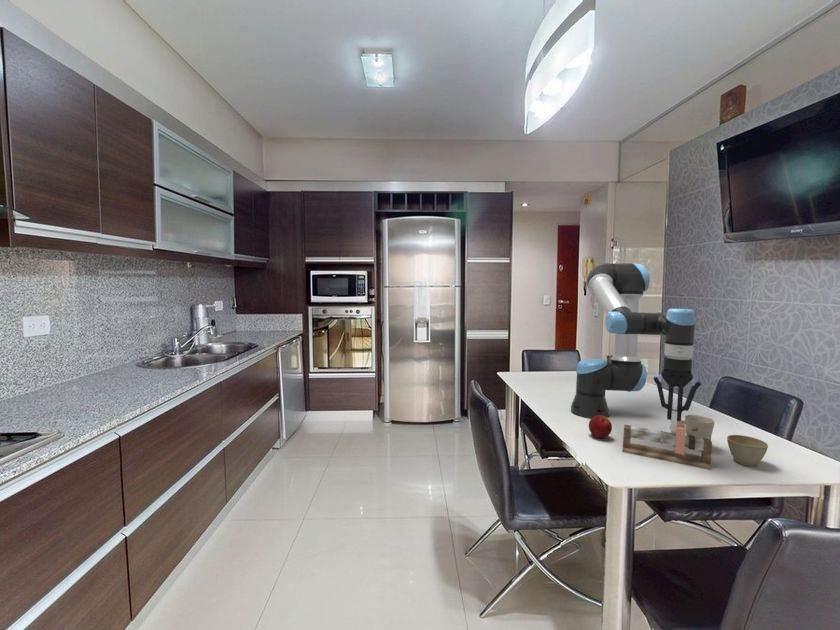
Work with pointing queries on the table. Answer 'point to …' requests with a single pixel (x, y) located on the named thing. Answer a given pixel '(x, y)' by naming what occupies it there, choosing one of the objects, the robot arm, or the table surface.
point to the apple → (600, 426)
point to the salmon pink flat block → (680, 438)
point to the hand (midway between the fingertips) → (673, 430)
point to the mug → (698, 426)
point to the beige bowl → (746, 449)
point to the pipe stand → (670, 439)
